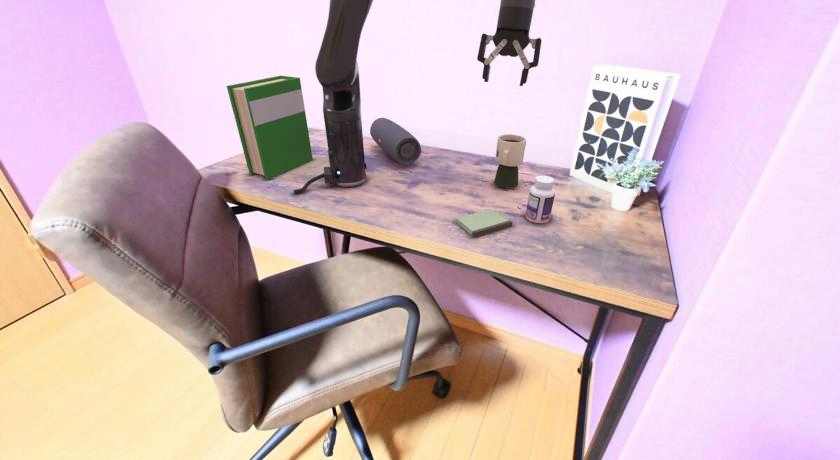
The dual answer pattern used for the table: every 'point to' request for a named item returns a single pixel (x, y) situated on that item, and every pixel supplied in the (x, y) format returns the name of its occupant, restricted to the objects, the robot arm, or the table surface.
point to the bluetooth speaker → (395, 141)
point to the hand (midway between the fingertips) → (503, 83)
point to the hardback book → (271, 124)
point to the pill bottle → (540, 200)
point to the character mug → (509, 159)
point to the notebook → (483, 222)
